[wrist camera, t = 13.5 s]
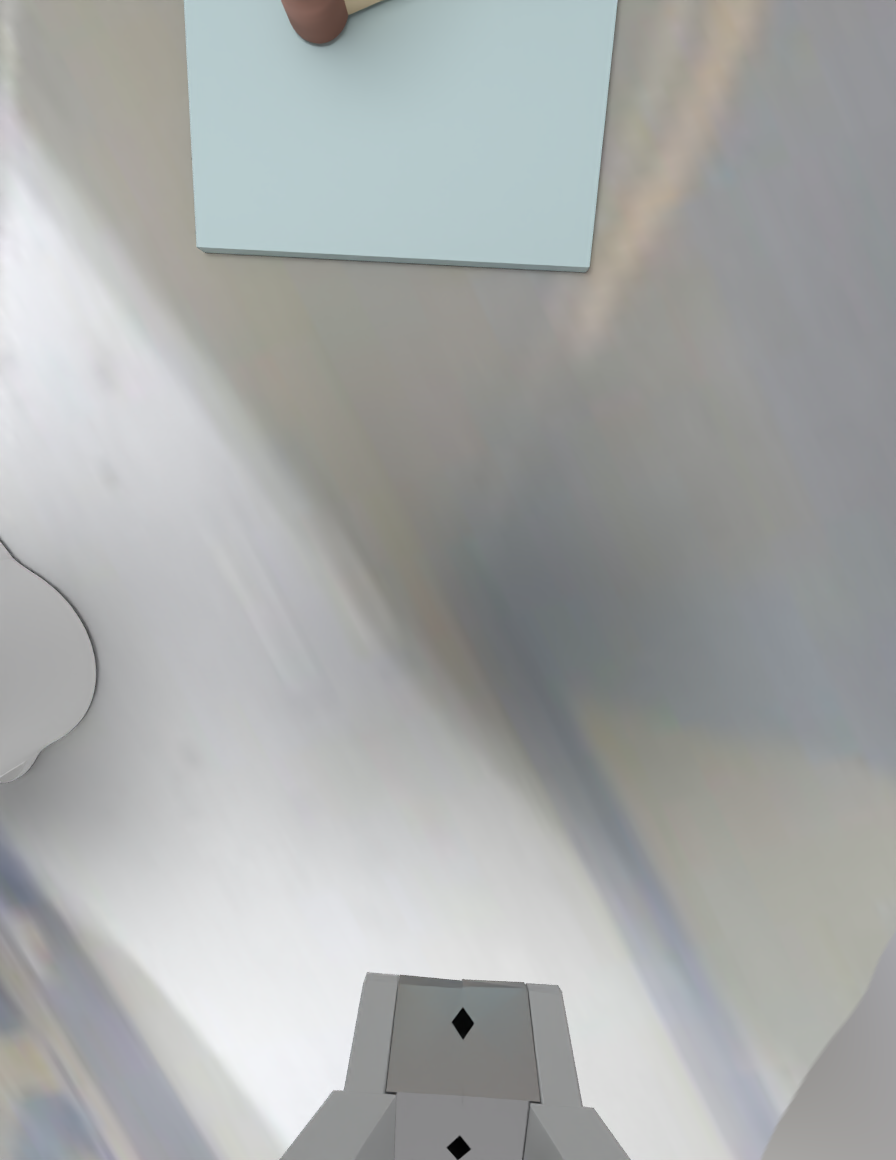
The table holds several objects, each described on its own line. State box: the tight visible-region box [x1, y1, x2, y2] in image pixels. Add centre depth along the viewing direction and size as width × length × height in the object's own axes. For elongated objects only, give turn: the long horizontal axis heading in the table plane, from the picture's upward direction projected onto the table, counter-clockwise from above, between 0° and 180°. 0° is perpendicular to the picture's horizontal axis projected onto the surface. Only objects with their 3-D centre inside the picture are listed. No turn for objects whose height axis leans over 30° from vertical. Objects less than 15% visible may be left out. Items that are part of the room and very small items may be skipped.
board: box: [184, 0, 618, 272], centre depth 29 cm, size 22×22×1 cm
